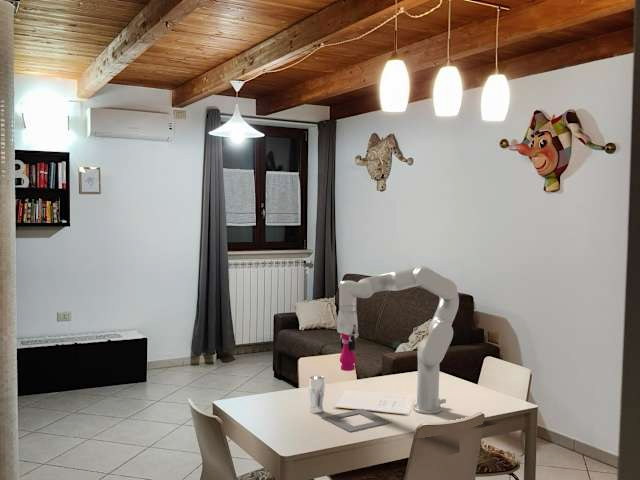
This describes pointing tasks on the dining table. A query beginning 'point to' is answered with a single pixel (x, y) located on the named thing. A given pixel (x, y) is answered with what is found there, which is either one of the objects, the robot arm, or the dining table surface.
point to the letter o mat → (336, 421)
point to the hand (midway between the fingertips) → (347, 348)
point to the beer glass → (316, 393)
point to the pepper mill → (347, 355)
